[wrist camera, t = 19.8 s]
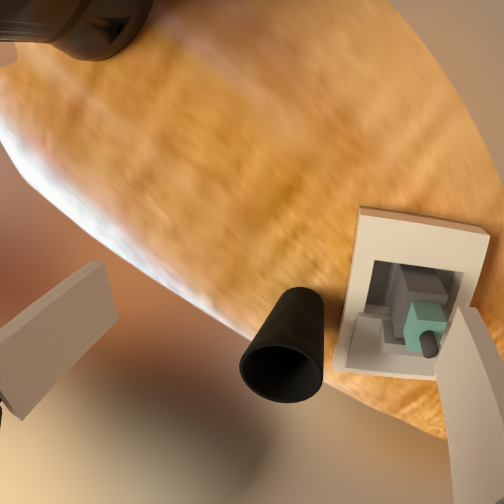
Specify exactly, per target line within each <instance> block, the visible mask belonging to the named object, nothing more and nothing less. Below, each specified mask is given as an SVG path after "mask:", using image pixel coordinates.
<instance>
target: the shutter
mask: <svg viewBox="0 0 504 504" xmlns="http://www.w3.org/2000/svg"><path fill="white" fill-rule="evenodd" d="M451 324H452V323H447V325H446V328H445V330H444V333H443V336H442V338H441V341H440V343H439V345H438V347H439V353H438V354H437V356H435V357H434V358H431V359H427V358H425V357H424V356H423V353H422V352H418V351H407V349H406V343H405V338H395V336H394V329H393V323H392V317H391V316H384V315H376V314H369V313H361V312H358V315H357V319H356V323H355V328H354V332H353V336H352V340H351V344H350V348H349V352H348V356H347V359H346V363H345V368H352V369H360V370H368V371H377V372H387V373H398V374H409V375H422V376H434V374H435V370H434V365H435V363H436V361H437V359H438V356H439V354H440V352H441V349H442V347H443V345H444V342H445V340H446V337H447V335H448V332H449V330H450V327H451Z"/></svg>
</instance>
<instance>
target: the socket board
mask: <svg viewBox="0 0 504 504" xmlns="http://www.w3.org/2000/svg"><path fill="white" fill-rule="evenodd" d="M489 239H490V235H489V234H488V233H487V232H486V231H484V230H483V229H482V228H481V227H480V226H479V225H474V224H469V223H464V222H458V221H453V220H447V219H441V218H435V217H430V216H423V215H417V214H411V213H405V212H398V211H391V210H385V209H378V208H370V207H363V206H359V212H358V220H357V227H356V234H355V241H354V248H353V255H352V261H351V267H350V273H349V279H348V285H347V290H346V296H345V301H344V306H343V312H342V317H341V322H340V326H339V331H338V336H337V340H336V345H335V349H334V355H333V363H332V370H334V371H342V372H349V373H357V374H366V375H374V376H384V377H395V378H406V379H419V380H435V381H437V379H436V374H434V376H422V375H409V374H398V373H387V372H377V371H368V370H360V369H352V368H345V363H346V359H347V356H348V352H349V348H350V344H351V340H352V336H353V332H354V328H355V323H356V319H357V315H358V312H361V313H369V314H376V315H384V316H391V311H390V305H389V297H390V293H391V289H392V285H393V280H394V276H395V272H396V267H397V263H401V264H408V265H415V266H422V267H429V268H434V269H435V271H436V273H437V275H438V277H439V279H440V281H441V283H442V285H443V287H444V288H445V290H446V292H447V294H448V299H447V302H446V305H445V308H444V311H443V313H444V315H445V318H446V320H447V323H452V322H453V319H454V316H455V313H456V311H457V308H458V306H462V307H469V306H470V303H471V300H472V297H473V294H474V291H475V288H476V285H477V282H478V279H479V276H480V272H481V269H482V266H483V262H484V259H485V255H486V251H487V247H488V243H489Z"/></svg>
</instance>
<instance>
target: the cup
mask: <svg viewBox="0 0 504 504" xmlns="http://www.w3.org/2000/svg"><path fill="white" fill-rule="evenodd" d="M323 367H324V305H323V302H322V299H321V298H320V296H319V295H318V294H317V293H315V292H314V291H312V290H310V289H308V288H304V287H295V288H291V289H289V290H287V291H286V292H284V293H283V294H282V296H281V297H280V299H279V300H278V302H277V303H276V305H275V306H274V308H273V310H272V311H271V313H270V314H269V316H268V317H267V319H266V321H265V322H264V324H263V325H262V327H261V328H260V330H259V331H258V333H257V334H256V336H255V337H254V339H253V341H252V342H251V344H250V345H249V347H248V348H247V350H246V351H245V353H244V354H243V356H242V358H241V360H240V364H239V368H240V373H241V376H242V379H243V380H244V382H245V383H246V385H247V386H248V387H249V388H250V389H251V390H252V391H253V392H255V393H256V394H258V395H259V396H261V397H263V398H265V399H268V400H271V401H274V402H280V403H296V402H300V401H304V400H306V399H308V398H310V397H312V396H313V395H314V394H316V392H318V390H319V389H320V387H321V385H322V381H323Z"/></svg>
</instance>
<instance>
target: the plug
mask: <svg viewBox="0 0 504 504" xmlns="http://www.w3.org/2000/svg"><path fill="white" fill-rule="evenodd" d="M447 299H448V294H447V292H446V290H445V288H444V287H443V285H442V283H441V281H440V279H439V277H438V275H437V273H436V271H435V269H434V268H429V267H422V266H415V265H408V264H401V263H397V267H396V272H395V276H394V280H393V285H392V289H391V293H390V297H389V305H390V311H391V317H392V323H393V329H394V336H395V338H405V343H406V349H407V351H418V352H422V353H423V356H424V357H425V358H427V359H431V358H434V357H435V356H437V354H438V353H439V347H438V345H439V343H440V341H441V338H442V336H443V333H444V330H445V328H446V325H447V320H446V318H445V315H444V313H443V311H444V308H445V305H446V302H447Z"/></svg>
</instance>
